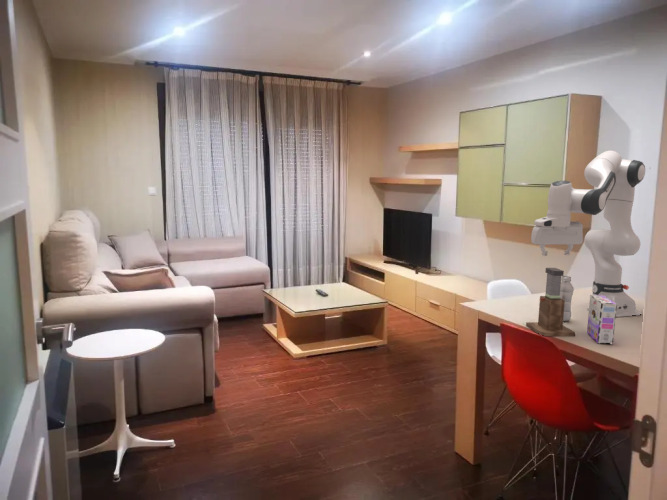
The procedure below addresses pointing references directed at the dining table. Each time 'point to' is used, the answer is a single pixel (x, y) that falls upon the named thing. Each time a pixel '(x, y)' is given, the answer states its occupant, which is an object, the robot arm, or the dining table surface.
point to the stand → (550, 318)
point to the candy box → (601, 318)
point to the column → (553, 283)
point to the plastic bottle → (566, 296)
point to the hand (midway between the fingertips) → (555, 255)
